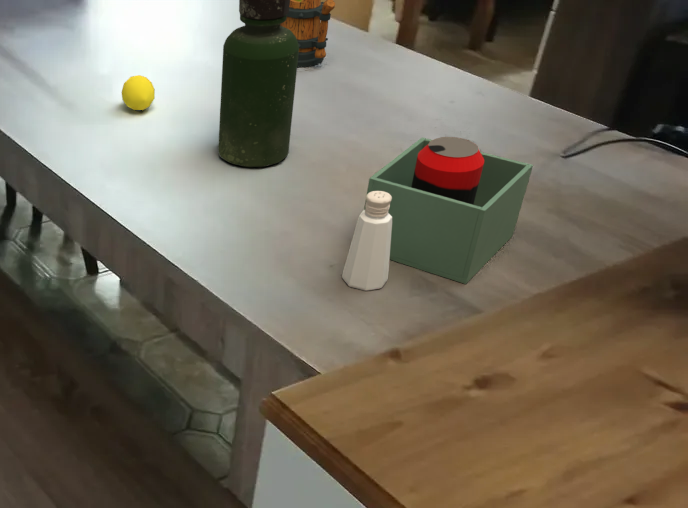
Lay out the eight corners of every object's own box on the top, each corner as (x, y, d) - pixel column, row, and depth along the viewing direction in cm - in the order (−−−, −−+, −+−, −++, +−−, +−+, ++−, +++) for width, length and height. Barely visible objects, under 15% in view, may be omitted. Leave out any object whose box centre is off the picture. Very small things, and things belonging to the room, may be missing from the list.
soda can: (392, 227, 120) (409, 137, 112) (448, 220, 120) (469, 130, 112) (416, 256, 114) (436, 163, 106) (474, 249, 115) (499, 156, 107)
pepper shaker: (331, 277, 112) (344, 193, 105) (363, 262, 115) (377, 179, 107) (365, 296, 109) (381, 211, 102) (397, 281, 111) (414, 196, 104)
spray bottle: (248, 133, 144) (261, -42, 128) (302, 153, 138) (322, -29, 122) (203, 155, 139) (210, -25, 123) (257, 176, 134) (272, -10, 117)
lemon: (160, 114, 152) (160, 81, 148) (129, 119, 151) (128, 86, 147) (146, 99, 157) (146, 66, 153) (116, 104, 156) (115, 71, 152)
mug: (257, 55, 170) (262, -12, 162) (301, 44, 173) (308, -23, 165) (301, 77, 161) (309, 6, 153) (347, 64, 164) (357, -5, 156)
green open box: (512, 236, 118) (533, 164, 111) (465, 284, 110) (485, 210, 104) (408, 205, 125) (422, 137, 118) (357, 249, 117) (369, 178, 111)
